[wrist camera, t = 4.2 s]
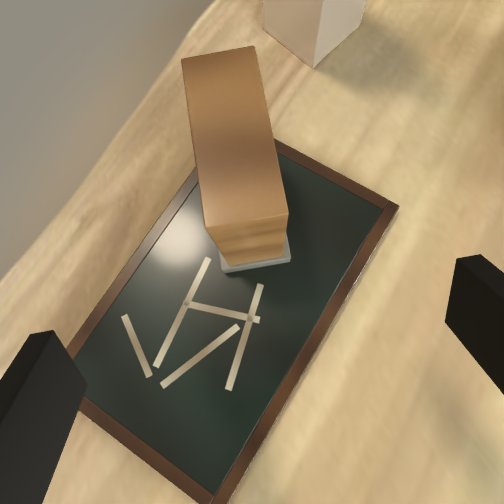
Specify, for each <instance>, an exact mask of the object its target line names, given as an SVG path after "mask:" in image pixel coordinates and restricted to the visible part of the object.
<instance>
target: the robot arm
mask: <svg viewBox="0 0 504 504" xmlns="http://www.w3.org/2000/svg"><path fill="white" fill-rule="evenodd" d="M445 323H446V324H447V325H448V327H449V328H450V329H451V330H452V332H453V333H454V334H455V335H456V336H457V338H458V339H459V340H460V341H461V343H462V344H463V345H464V346H465V348H466V349H467V350H468V351H469V352H470V354H471V355H472V356H473V357H474V359H475V360H476V361H477V362H478V364H479V365H480V366H481V367H482V368H483V370H484V371H485V372H486V373H487V375H488V376H489V377H490V378H491V380H492V381H493V382H494V383H495V384H496V386H497V387H498V388H499V389H500V391H501V392H502V393H503V394H504V273H503V272H502V271H501V270H499V269H498V268H497V267H496V266H494V265H493V264H492V263H491V262H489V261H488V260H487V259H486V258H484V257H483V256H482V255H481V254H479V255H474V256H468V257H462V258H457V259H456V264H455V270H454V275H453V280H452V286H451V291H450V296H449V302H448V307H447V312H446V318H445ZM87 386H88V383H87V382H86V380H85V379H84V377H83V376H82V374H81V372H80V371H79V369H78V368H77V366H76V365H75V363H74V362H73V360H72V358H71V357H70V355H69V354H68V352H67V351H66V349H65V347H64V346H63V344H62V343H61V341H60V340H59V338H58V336H57V335H56V333H55V332H54V330H51V331H45V332H40V333H34V334H30V335H29V337H28V338H27V340H26V341H25V343H24V345H23V346H22V348H21V349H20V351H19V352H18V354H17V355H16V357H15V358H14V360H13V361H12V363H11V365H10V366H9V368H8V369H7V371H6V372H5V374H4V375H3V377H2V378H1V380H0V504H42V503H43V500H44V498H45V495H46V492H47V490H48V487H49V485H50V482H51V480H52V477H53V474H54V472H55V469H56V467H57V464H58V461H59V459H60V456H61V454H62V451H63V448H64V446H65V443H66V441H67V438H68V435H69V433H70V430H71V428H72V425H73V422H74V420H75V417H76V415H77V412H78V409H79V407H80V404H81V402H82V399H83V396H84V394H85V391H86V389H87Z"/></svg>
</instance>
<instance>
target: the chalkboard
mask: <svg viewBox="0 0 504 504" xmlns="http://www.w3.org/2000/svg"><path fill="white" fill-rule="evenodd" d="M274 143H275V148H276V153H277V158H278V163H279V167H280V172H281V177H282V182H283V187H284V192H285V197H286V202H287V207H288V212H289V214H288V221H287V228H286V234H287V239H288V244H289V249H290V254H291V259H290V262H287V263H281V264H276V265H270V266H264V267H259V268H253V269H247V270H242V271H236V272H230V273H224V272H223V271H222V270H221V264H220V257H219V251H218V248H217V246H216V244H215V243H214V241H213V240H212V238H211V237H210V235H209V234H208V232H207V230H206V229H205V226H204V219H203V212H202V205H201V198H200V191H199V184H198V177H197V170H196V167H195V168H194V170H193V171H192V173H191V174H190V175H189V177H188V178H187V180H186V181H185V182H184V184H183V185H182V187H181V188H180V189H179V191H178V192H177V194H176V195H175V196H174V198H173V199H172V201H171V202H170V203H169V205H168V206H167V208H166V209H165V210H164V212H163V213H162V215H161V216H160V217H159V219H158V220H157V222H156V223H155V224H154V226H153V227H152V229H151V230H150V231H149V233H148V234H147V236H146V237H145V238H144V240H143V241H142V243H141V244H140V245H139V247H138V248H137V250H136V251H135V252H134V254H133V255H132V257H131V258H130V259H129V261H128V262H127V264H126V265H125V266H124V268H123V269H122V271H121V272H120V273H119V275H118V276H117V278H116V279H115V280H114V282H113V283H112V285H111V286H110V287H109V289H108V290H107V292H106V293H105V295H104V296H103V297H102V299H101V300H100V302H99V303H98V304H97V306H96V307H95V309H94V310H93V311H92V313H91V314H90V316H89V317H88V318H87V320H86V321H85V323H84V324H83V325H82V327H81V328H80V330H79V331H78V332H77V334H76V335H75V337H74V338H73V339H72V341H71V342H70V344H69V345H68V346H67V348H66V351H67V352H68V354H69V355H70V357H71V358H72V360H73V362H74V363H75V365H76V366H77V368H78V369H79V371H80V372H81V374H82V376H83V377H84V379H85V380H86V382H87V383H88V386H87V389H86V391H85V394H84V396H83V399H82V402H81V404H80V407H79V409H78V410H79V411H80V412H82V413H83V414H84V415H86V416H87V417H88V418H89V419H91V420H92V421H93V422H95V423H96V424H97V425H98V426H100V427H101V428H102V429H104V430H105V431H106V432H107V433H109V434H110V435H111V436H113V437H114V438H115V439H116V440H118V441H119V442H120V443H122V444H123V445H124V446H125V447H127V448H128V449H129V450H131V451H132V452H133V453H134V454H136V455H137V456H138V457H140V458H141V459H142V460H143V461H145V462H146V463H147V464H149V465H150V466H151V467H152V468H154V469H155V470H156V471H158V472H159V473H160V474H161V475H163V476H164V477H165V478H167V479H168V480H169V481H170V482H172V483H173V484H174V485H176V486H177V487H178V488H179V489H181V490H182V491H183V492H185V493H186V494H187V495H188V496H190V497H191V498H192V499H194V500H195V501H196V502H198V503H199V504H228V503H229V501H230V499H231V498H232V496H233V494H234V493H235V491H236V489H237V487H238V486H239V484H240V482H241V480H242V479H243V477H244V475H245V473H246V472H247V470H248V468H249V467H250V465H251V463H252V461H253V460H254V458H255V456H256V454H257V453H258V451H259V449H260V448H261V446H262V444H263V442H264V441H265V439H266V437H267V435H268V434H269V432H270V430H271V428H272V427H273V425H274V423H275V422H276V420H277V418H278V416H279V415H280V413H281V411H282V409H283V408H284V406H285V404H286V403H287V401H288V399H289V397H290V396H291V394H292V392H293V390H294V389H295V387H296V385H297V383H298V382H299V380H300V378H301V377H302V375H303V373H304V371H305V370H306V368H307V366H308V364H309V363H310V361H311V359H312V358H313V356H314V354H315V352H316V351H317V349H318V347H319V345H320V344H321V342H322V340H323V338H324V337H325V335H326V333H327V332H328V330H329V328H330V326H331V325H332V323H333V321H334V319H335V318H336V316H337V314H338V313H339V311H340V309H341V307H342V306H343V304H344V302H345V300H346V299H347V297H348V295H349V293H350V292H351V290H352V288H353V287H354V285H355V283H356V281H357V280H358V278H359V276H360V274H361V273H362V271H363V269H364V268H365V266H366V264H367V262H368V261H369V259H370V257H371V255H372V254H373V252H374V250H375V248H376V247H377V245H378V243H379V242H380V240H381V238H382V236H383V235H384V233H385V231H386V229H387V228H388V226H389V224H390V223H391V221H392V219H393V217H394V216H395V214H396V212H397V210H398V209H399V205H397V204H395V203H393V202H392V201H390V200H389V201H388V199H386V198H384V197H382V196H381V195H379V194H377V193H375V192H373V191H371V190H369V189H368V188H366V187H364V186H362V185H360V184H358V183H356V182H354V181H353V180H351V179H349V178H347V177H345V176H343V175H341V174H340V173H338V172H336V171H334V170H332V169H330V168H328V167H326V166H325V165H323V164H321V163H319V162H317V161H315V160H313V159H312V158H310V157H308V156H306V155H304V154H302V153H300V152H298V151H297V150H295V149H293V148H291V147H289V146H287V145H285V144H284V143H282V142H280V141H278V140H276V139H274Z"/></svg>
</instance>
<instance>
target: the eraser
mask: <svg viewBox="0 0 504 504" xmlns="http://www.w3.org/2000/svg"><path fill="white" fill-rule="evenodd" d="M181 64H182V71H183V78H184V85H185V92H186V99H187V106H188V113H189V120H190V128H191V135H192V142H193V149H194V156H195V163H196V170H197V177H198V184H199V191H200V198H201V205H202V212H203V219H204V226H205V229H206V230H207V232H208V234H209V235H210V237H211V238H212V240H213V241H214V243H215V244H216V246H217V248H218V251H219V257H220V264H221V270H222V271H223V272H224V273H230V272H236V271H242V270H247V269H253V268H259V267H264V266H270V265H276V264H281V263H287V262H290V259H291V254H290V249H289V244H288V239H287V234H286V228H287V221H288V214H289V212H288V207H287V202H286V197H285V192H284V187H283V182H282V177H281V172H280V167H279V163H278V158H277V153H276V148H275V143H274V138H273V133H272V128H271V123H270V118H269V114H268V109H267V104H266V99H265V94H264V89H263V84H262V79H261V74H260V69H259V65H258V60H257V55H256V50H255V47H254V46H248V47H243V48H238V49H232V50H227V51H222V52H216V53H211V54H205V55H200V56H195V57H189V58H184V59H181Z"/></svg>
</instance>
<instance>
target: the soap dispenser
mask: <svg viewBox="0 0 504 504" xmlns="http://www.w3.org/2000/svg"><path fill="white" fill-rule="evenodd" d="M366 3H367V0H262V18H263V29H264V30H265V31H266V32H267V33H269V34H270V35H271V36H272V37H274V38H275V39H276V40H277V41H279V42H280V43H281V44H282V45H284V46H285V47H286V48H287V49H289V50H290V51H291V52H292V53H294V54H295V55H296V56H297V57H299V58H300V59H301V60H303V61H304V62H305V63H306V64H308V65H309V66H310V67H311V68H313V67H314V66H316V65H317V64H318V63H319V62H320V61H321V60H322V59H323V58H324V57H326V56H327V55H328V54H329V53H330V52H331V51H332V50H333V49H334V48H336V47H337V46H338V45H339V44H340V43H341V42H342V41H343V40H344V39H346V38H347V37H348V36H349V35H350V34H351V33H352V32H353V31H354V30H355V29H357V28H358V27H359V26H360V24H361V21H362V17H363V14H364V10H365V7H366Z"/></svg>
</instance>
